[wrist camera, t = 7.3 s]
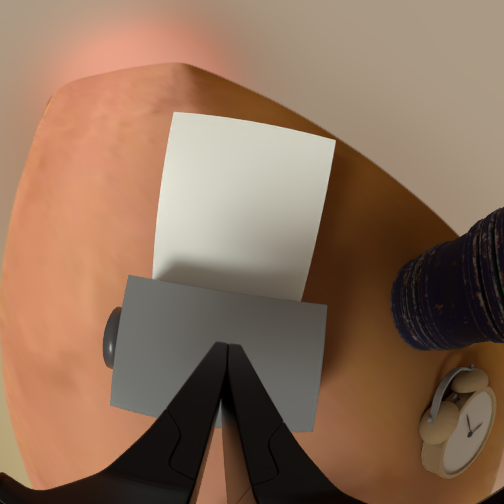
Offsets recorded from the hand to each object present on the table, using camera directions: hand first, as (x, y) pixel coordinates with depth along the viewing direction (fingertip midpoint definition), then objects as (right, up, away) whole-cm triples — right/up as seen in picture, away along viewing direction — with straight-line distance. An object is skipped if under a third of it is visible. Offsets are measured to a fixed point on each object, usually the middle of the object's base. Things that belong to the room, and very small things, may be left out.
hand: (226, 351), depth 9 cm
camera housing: (-2, -5, +11) cm, 12 cm away
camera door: (-1, +1, +12) cm, 12 cm away
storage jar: (+19, -2, +15) cm, 24 cm away
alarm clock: (+23, -16, +12) cm, 30 cm away
